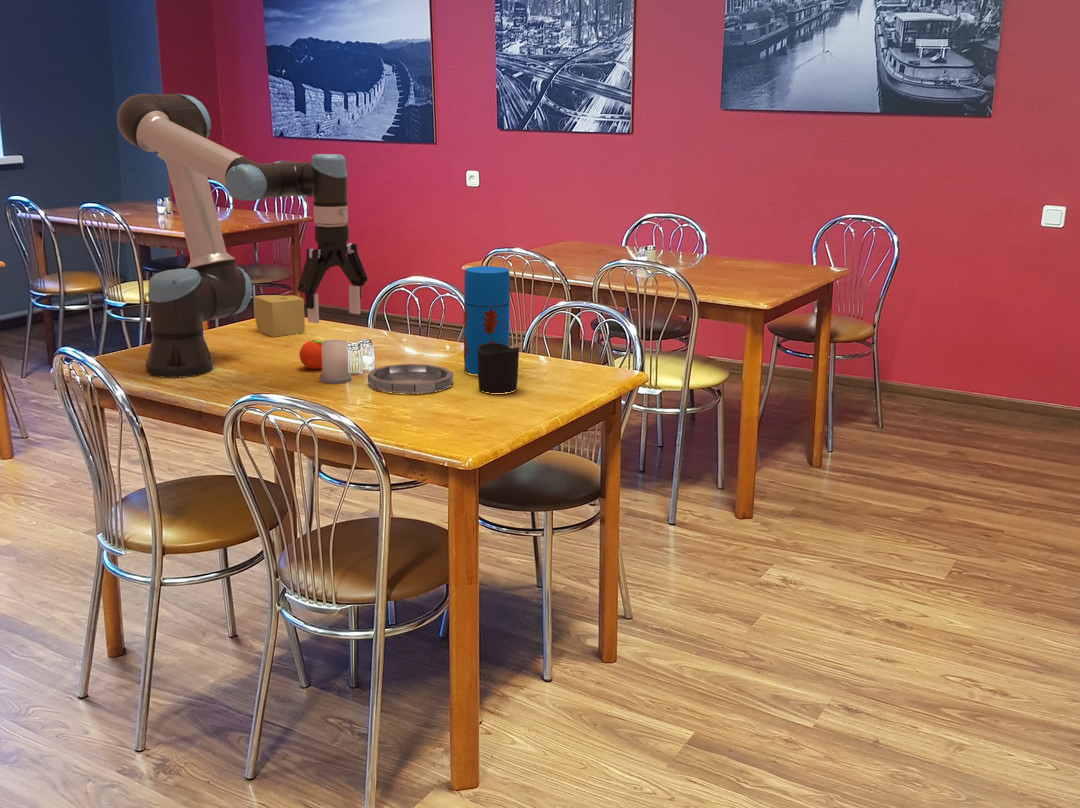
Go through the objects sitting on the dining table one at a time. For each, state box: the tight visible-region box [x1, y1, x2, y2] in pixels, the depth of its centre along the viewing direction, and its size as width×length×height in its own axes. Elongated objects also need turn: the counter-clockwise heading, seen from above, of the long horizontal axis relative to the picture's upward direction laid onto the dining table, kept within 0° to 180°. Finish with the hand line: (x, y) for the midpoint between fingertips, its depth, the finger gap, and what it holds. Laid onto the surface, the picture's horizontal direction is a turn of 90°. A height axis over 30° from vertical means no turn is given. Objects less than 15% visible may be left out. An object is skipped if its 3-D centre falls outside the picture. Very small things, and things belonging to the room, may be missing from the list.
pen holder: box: [477, 343, 520, 393], centre depth 250 cm, size 9×9×10 cm
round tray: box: [367, 363, 454, 395], centre depth 255 cm, size 19×19×2 cm
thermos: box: [463, 265, 511, 375], centre depth 264 cm, size 11×11×25 cm
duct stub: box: [319, 339, 352, 385], centre depth 256 cm, size 7×7×9 cm
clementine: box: [298, 339, 322, 370], centre depth 266 cm, size 8×7×7 cm
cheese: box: [253, 294, 306, 338], centre depth 304 cm, size 10×11×10 cm
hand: (334, 318), depth 253 cm, fingers open, 13 cm apart
